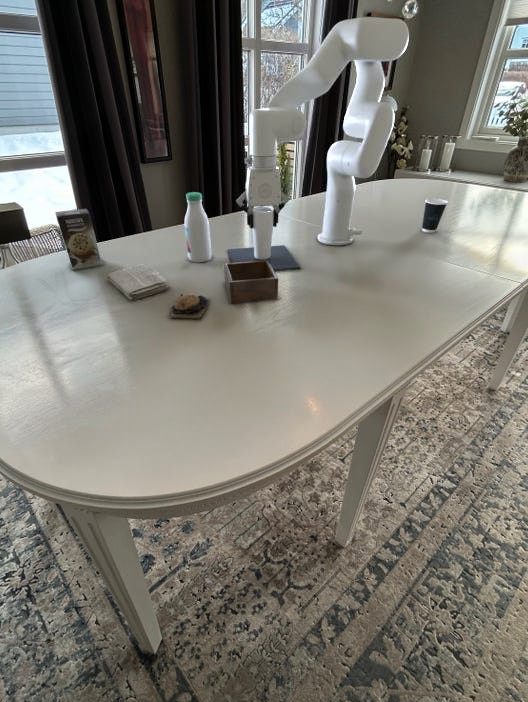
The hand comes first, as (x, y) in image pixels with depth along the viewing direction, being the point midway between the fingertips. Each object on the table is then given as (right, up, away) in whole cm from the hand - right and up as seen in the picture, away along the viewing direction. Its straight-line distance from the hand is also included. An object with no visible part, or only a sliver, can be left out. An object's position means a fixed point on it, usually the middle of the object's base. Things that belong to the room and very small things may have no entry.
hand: (262, 226), depth 114 cm
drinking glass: (0, -8, +6) cm, 10 cm away
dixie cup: (+66, +9, +30) cm, 73 cm away
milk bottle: (-21, -8, +7) cm, 23 cm away
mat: (0, -9, +6) cm, 11 cm away
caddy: (-4, -22, -12) cm, 26 cm away
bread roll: (-19, -29, -20) cm, 40 cm away
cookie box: (-56, -11, +4) cm, 58 cm away
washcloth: (-36, -20, -9) cm, 42 cm away
